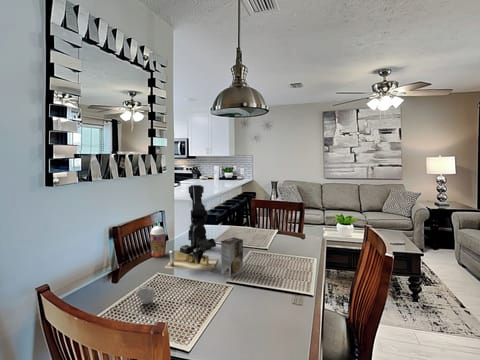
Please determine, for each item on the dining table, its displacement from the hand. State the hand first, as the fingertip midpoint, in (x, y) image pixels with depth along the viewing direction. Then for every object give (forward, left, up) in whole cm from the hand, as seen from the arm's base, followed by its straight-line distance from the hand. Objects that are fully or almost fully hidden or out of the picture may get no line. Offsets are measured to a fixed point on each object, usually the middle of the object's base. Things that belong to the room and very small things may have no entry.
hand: (198, 263), depth 145 cm
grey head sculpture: (+38, -10, -2) cm, 40 cm away
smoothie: (-13, -26, -2) cm, 29 cm away
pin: (+1, -13, -1) cm, 13 cm away
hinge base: (-7, -9, -1) cm, 11 cm away
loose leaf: (-3, +1, -1) cm, 3 cm away
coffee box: (+5, +18, -2) cm, 19 cm away
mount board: (-4, -4, -2) cm, 6 cm away
